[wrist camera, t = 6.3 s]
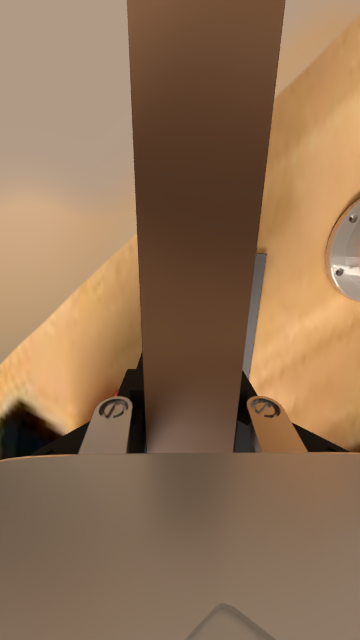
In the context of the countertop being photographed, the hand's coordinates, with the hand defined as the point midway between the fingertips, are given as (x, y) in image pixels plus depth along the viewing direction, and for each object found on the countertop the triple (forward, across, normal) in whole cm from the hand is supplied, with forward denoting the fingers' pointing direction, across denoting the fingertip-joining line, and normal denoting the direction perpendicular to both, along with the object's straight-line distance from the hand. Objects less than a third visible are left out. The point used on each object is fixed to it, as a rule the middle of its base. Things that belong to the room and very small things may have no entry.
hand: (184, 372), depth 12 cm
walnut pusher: (0, 0, 0) cm, 0 cm away
